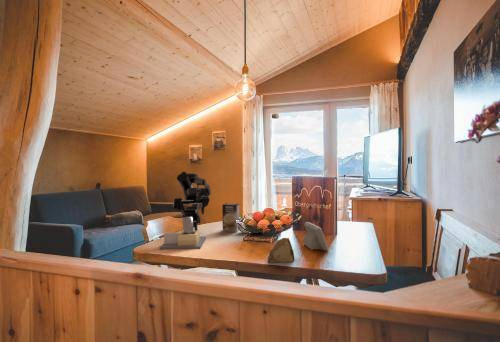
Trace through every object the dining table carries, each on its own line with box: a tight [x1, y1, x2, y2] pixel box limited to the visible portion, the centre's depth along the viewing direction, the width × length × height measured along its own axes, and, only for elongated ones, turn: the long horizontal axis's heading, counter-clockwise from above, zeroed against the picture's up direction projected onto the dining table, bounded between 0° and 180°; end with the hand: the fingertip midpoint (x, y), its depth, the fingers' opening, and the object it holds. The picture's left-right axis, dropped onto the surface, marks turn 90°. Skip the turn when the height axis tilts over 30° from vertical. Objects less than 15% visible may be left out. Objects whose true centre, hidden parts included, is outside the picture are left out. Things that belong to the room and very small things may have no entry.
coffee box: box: [222, 202, 240, 233], centre depth 168 cm, size 9×6×16 cm
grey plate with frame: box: [159, 228, 207, 250], centre depth 142 cm, size 19×19×6 cm
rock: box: [267, 237, 296, 263], centre depth 114 cm, size 11×9×10 cm
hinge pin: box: [181, 216, 194, 234], centre depth 139 cm, size 5×5×12 cm
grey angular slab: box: [303, 221, 329, 252], centre depth 133 cm, size 16×9×11 cm, turn 179°
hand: (194, 215), depth 146 cm, fingers open, 9 cm apart
